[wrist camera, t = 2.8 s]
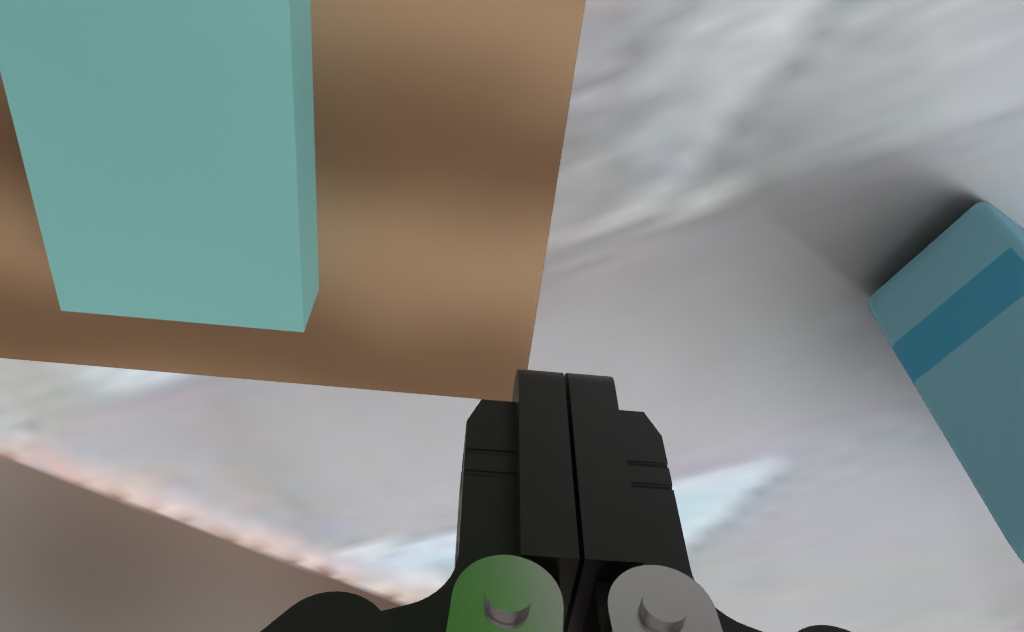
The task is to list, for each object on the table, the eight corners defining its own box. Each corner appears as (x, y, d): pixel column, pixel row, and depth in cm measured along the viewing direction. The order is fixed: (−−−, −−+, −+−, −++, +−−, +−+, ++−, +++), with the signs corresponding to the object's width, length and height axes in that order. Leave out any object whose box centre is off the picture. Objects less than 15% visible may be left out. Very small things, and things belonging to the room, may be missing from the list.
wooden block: (-124, -332, 18) (-264, -343, 15) (602, -235, 19) (621, -225, 16) (38, 280, 27) (-26, 355, 24) (521, 323, 28) (521, 402, 25)
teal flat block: (13, -100, 17) (-39, -81, 15) (308, -66, 17) (287, -43, 16) (93, 267, 22) (61, 310, 21) (319, 288, 23) (303, 332, 21)
